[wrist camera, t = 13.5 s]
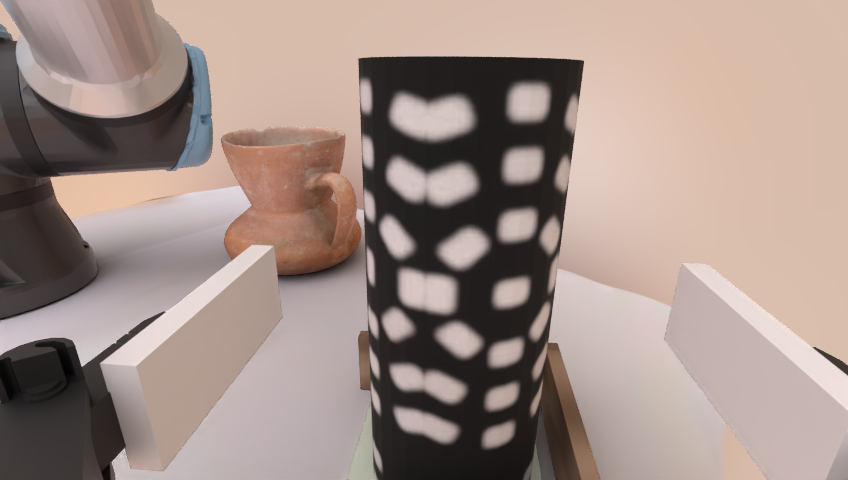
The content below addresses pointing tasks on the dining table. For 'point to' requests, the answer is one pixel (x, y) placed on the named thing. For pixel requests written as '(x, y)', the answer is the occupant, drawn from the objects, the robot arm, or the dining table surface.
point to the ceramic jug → (293, 197)
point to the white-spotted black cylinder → (462, 255)
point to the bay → (564, 439)
